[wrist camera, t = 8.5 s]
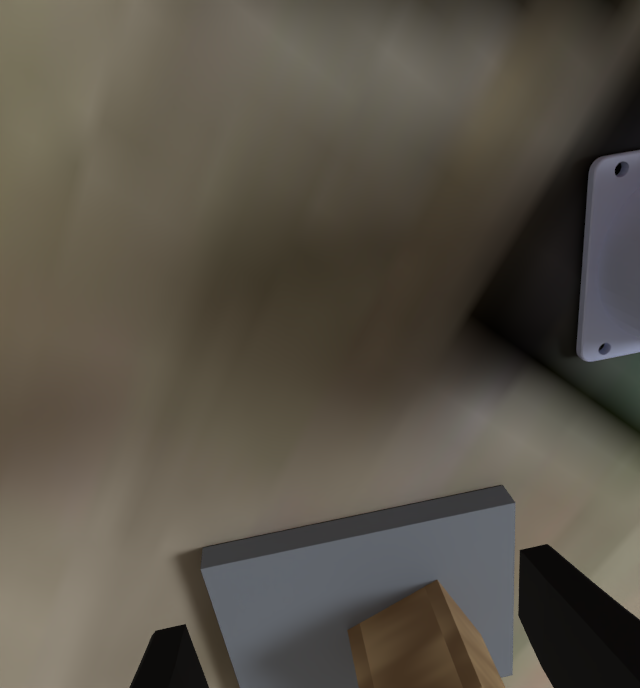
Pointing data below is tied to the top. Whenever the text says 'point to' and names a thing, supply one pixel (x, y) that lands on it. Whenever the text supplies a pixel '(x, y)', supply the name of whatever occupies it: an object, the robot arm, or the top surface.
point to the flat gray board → (359, 585)
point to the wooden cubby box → (422, 646)
